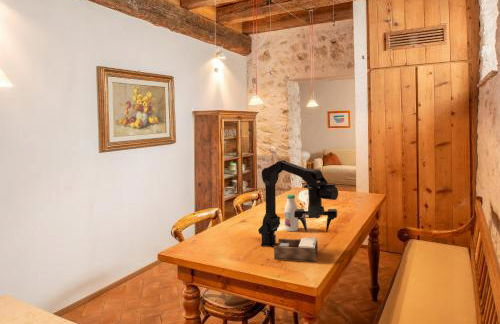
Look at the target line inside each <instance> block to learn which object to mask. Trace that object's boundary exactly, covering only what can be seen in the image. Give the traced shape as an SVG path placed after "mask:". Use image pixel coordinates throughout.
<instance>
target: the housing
mask: <svg viewBox="0 0 500 324" xmlns="http://www.w3.org/2000/svg"><path fill="white" fill-rule="evenodd" d="M277 240H278V244H277V245H278V246H275V245H274V246H273V252H274V253H273V259H274V260H281V261H297V262H314V263H315V262H316V260H317V256H318V249H319V248H318V240H317V241H316V245H315V248H299V244H300V241H301V239H298V238H297V239H295V238H278V239H277ZM281 243H289V247H279V245H280V244H281Z"/></svg>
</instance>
